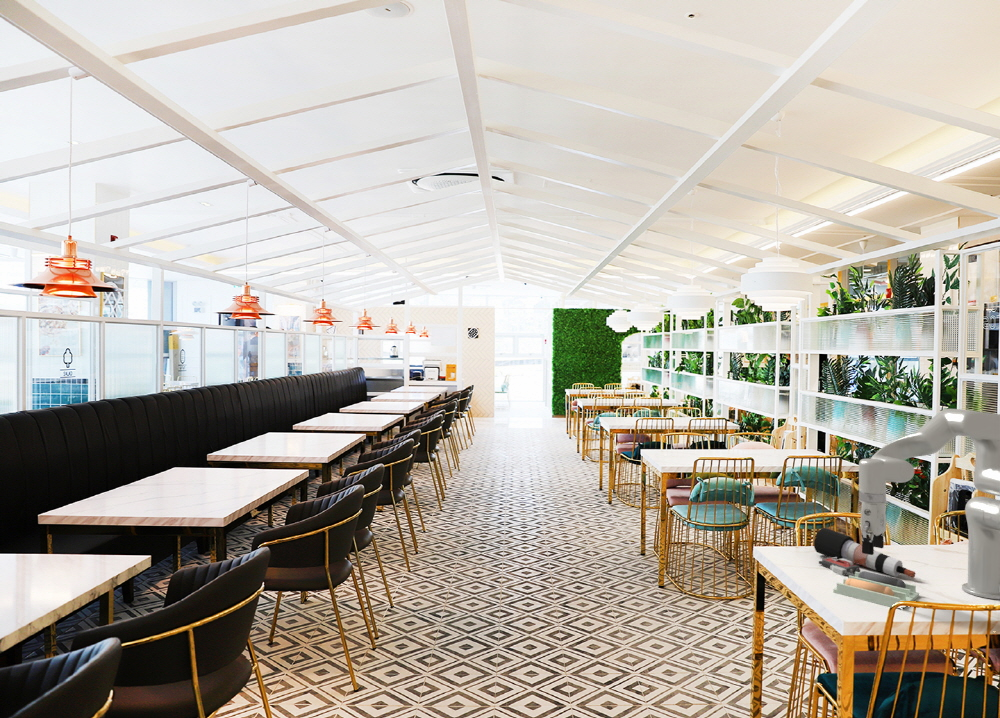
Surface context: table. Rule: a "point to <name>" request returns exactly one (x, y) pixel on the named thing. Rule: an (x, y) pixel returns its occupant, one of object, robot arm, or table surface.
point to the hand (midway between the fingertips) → (872, 550)
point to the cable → (856, 553)
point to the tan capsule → (869, 586)
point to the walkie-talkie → (840, 566)
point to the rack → (875, 597)
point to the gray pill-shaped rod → (882, 579)
